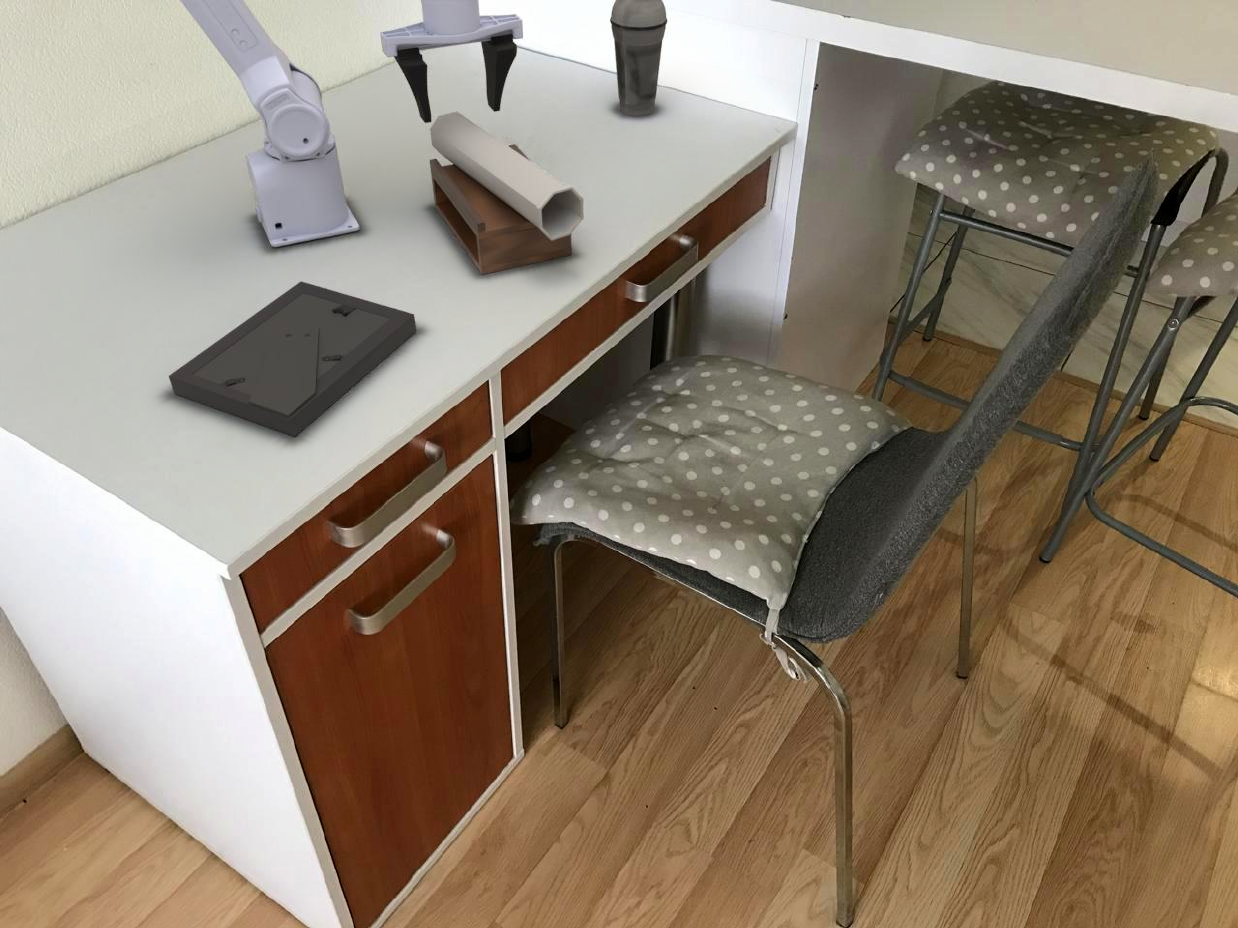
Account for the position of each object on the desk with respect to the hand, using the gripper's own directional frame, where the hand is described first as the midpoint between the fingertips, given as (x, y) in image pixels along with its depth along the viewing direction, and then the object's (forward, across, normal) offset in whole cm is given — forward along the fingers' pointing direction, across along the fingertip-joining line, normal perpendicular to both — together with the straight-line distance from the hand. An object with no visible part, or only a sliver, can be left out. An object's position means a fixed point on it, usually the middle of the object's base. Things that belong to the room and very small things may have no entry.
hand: (460, 113), depth 113 cm
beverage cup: (+10, -29, -16) cm, 35 cm away
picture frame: (+11, +24, +24) cm, 35 cm away
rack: (+10, -1, +8) cm, 13 cm away
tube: (+6, -1, +8) cm, 10 cm away
